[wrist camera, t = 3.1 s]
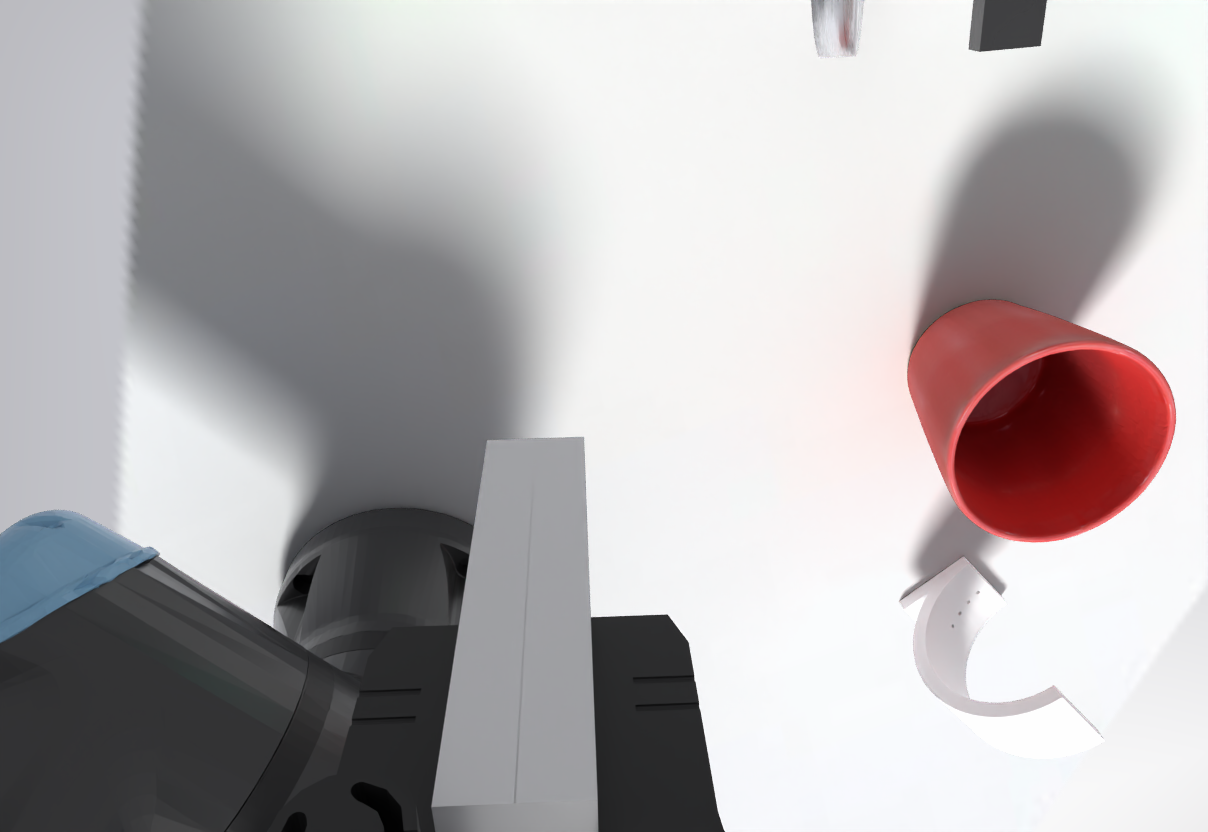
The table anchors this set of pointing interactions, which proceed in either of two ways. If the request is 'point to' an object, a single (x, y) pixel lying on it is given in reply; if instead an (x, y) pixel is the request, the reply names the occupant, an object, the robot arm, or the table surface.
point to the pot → (1006, 24)
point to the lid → (837, 27)
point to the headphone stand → (941, 652)
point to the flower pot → (1038, 419)
